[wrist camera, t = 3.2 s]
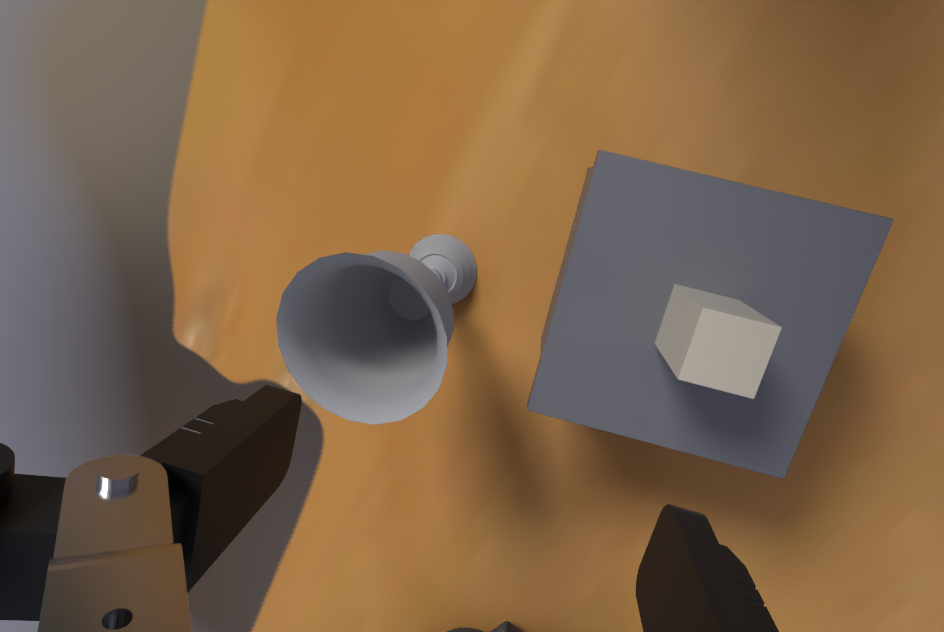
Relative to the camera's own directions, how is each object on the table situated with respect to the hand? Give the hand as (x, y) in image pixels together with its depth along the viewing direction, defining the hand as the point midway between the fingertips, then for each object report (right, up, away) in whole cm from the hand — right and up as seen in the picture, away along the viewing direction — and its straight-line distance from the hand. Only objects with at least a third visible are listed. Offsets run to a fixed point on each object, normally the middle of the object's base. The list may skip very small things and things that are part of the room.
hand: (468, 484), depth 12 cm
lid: (+11, +4, +17) cm, 20 cm away
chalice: (-2, +7, +28) cm, 29 cm away
